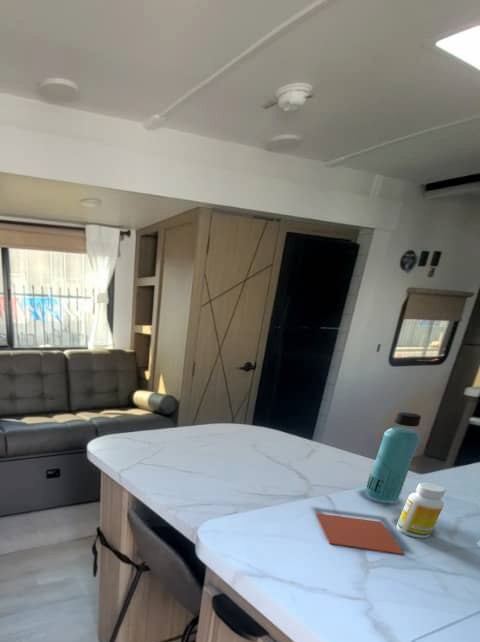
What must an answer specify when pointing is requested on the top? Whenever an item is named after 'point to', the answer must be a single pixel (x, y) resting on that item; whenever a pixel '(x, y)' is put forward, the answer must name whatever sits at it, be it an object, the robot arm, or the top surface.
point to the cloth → (358, 533)
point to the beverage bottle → (394, 459)
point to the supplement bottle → (421, 510)
